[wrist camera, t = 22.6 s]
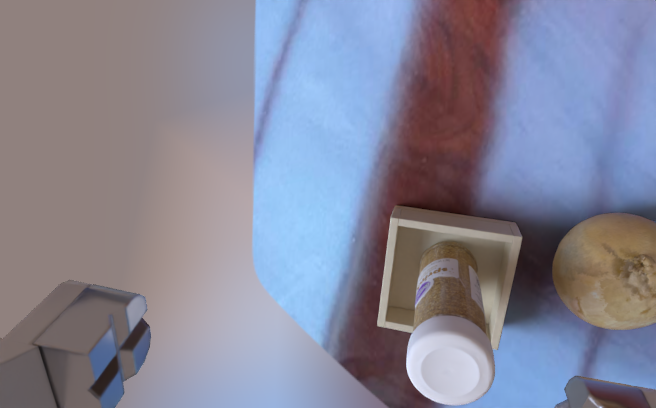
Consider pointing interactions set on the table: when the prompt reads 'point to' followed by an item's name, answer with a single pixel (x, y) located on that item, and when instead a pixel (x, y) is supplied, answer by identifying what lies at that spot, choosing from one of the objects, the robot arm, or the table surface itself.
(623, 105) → the table surface
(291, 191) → the table surface
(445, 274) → the sprinkles bottle
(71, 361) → the robot arm
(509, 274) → the tray
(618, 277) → the onion
